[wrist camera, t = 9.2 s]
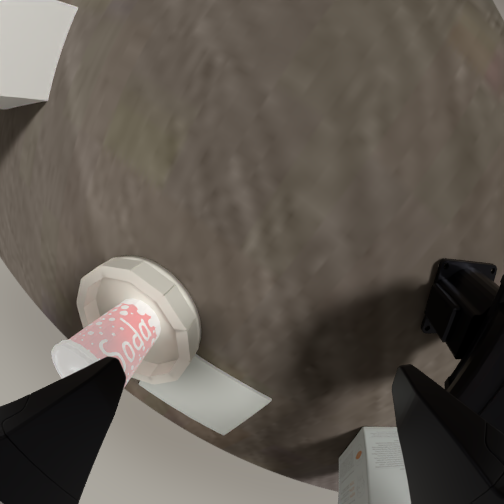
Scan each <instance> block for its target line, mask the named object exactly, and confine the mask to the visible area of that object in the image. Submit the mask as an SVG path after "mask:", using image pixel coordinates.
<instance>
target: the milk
mask: <svg viewBox="0 0 504 504" xmlns="http://www.w3.org/2000/svg"><path fill="white" fill-rule="evenodd" d="M77 10H78V7H76V6H73V5H70V4H67V3H64V2H60V1H57V0H0V109H10V108H14V107H19V106H23V105H28V104H33V103H38V102H44V101H48V98H49V93H50V89H51V85H52V81H53V77H54V74H55V70H56V66H57V63H58V60H59V57H60V54H61V50H62V48H63V45H64V42H65V39H66V36H67V34H68V31H69V28H70V26H71V23H72V21H73V19H74V16H75V14H76V12H77Z"/></svg>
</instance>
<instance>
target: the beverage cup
mask: <svg viewBox="0 0 504 504" xmlns="http://www.w3.org/2000/svg"><path fill="white" fill-rule="evenodd" d="M160 331H161V327H160V321H159V319H158V317H157V315H156V313H155V312H154V311H153V310H152V309H151V308H150V306H149V305H147V304H145V303H144V302H142V301H141V300H137V299H133V298H131V299H126V300H124V301H123V302H121V303H120V304H118V305H117V306H115V307H114V308H113V309H111V310H110V311H108V312H107V313H105V314H104V315H102V316H101V317H100V318H98V319H97V320H95V321H94V322H92V323H91V324H90V325H88V326H87V327H85V328H84V329H82V330H81V331H80V332H78V333H77V334H75V335H74V336H73V337H71V338H70V339H68V340H61V342H60V343H57V344H56V345H55V346H54V347H53V349H52V350H51V354H52V361H53V363H54V366H55V368H56V370H57V372H58V374H59V375H60V377H61V378H65V377H67V376H69V375H71V374H73V373H75V372H77V371H79V370H81V369H83V368H85V367H87V366H89V365H91V364H93V363H95V362H97V361H99V360H101V359H103V358H105V357H107V356H110V357H115V358H118V359H119V361H120V363H121V365H122V367H123V370H124V372H125V374H126V382H125V385H124V387H125V386H126V384H127V383H128V381H129V380H130V378H131V377H132V375H133V374H134V372H135V371H136V369H137V368H138V366H139V365H140V363H141V362H142V360H143V359H144V357H145V356H146V354H147V353H148V351H149V350H150V348H151V347H152V345H153V344H154V343H155V341H156V340H157V338H158V337H159V334H160ZM123 389H124V388H123Z"/></svg>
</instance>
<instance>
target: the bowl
mask: <svg viewBox="0 0 504 504" xmlns="http://www.w3.org/2000/svg"><path fill="white" fill-rule="evenodd" d="M131 298H133V299H137V300H141V301H142V302H144V303H145V304H147V305H149V306H150V308H151V309H152V310H153V311H154V312H155V313H156V315H157V317H158V319H159V321H160V327H161V331H160V334H159V337H158V338H157V340H156V341H155V343H154V344H153V345H152V347H151V348H150V350H149V351H148V353H147V354H146V356H145V357H144V359H143V360H142V362H141V363H140V365H139V366H138V368H137V369H136V371H135V372H134V374H133V375H132V378H135V379H137V380H140V381H144V382H147V383H150V384H154V385H155V384H161V383H167V382H172V381H177V380H178V379H179V377H180V376H181V375H182V373H183V372H184V371H185V369H186V368H187V366H188V365H189V364H190V362H191V361H192V359H193V357H194V355H195V354H196V352H197V350H198V349H199V344H200V341H201V335H202V327H201V320H200V316H199V312H198V310H197V307H196V305H195V303H194V301H193V299H192V297H191V295H190V294H189V292H188V291H187V289H186V288H185V287H184V286H183V284H182V283H181V282H180V281H179V280H178V279H177V278H176V277H175V276H174V275H173V274H172V273H171V272H169V271H168V270H167V269H166V268H164V267H163V266H161V265H160V264H158V263H156V262H154V261H152V260H150V259H147V258H144V257H141V256H135V255H124V256H119V257H114V258H112V259H110V260H108V261H107V262H105V263H103V264H101V265H100V266H98V267H97V268H95V269H94V270H92V271H91V272H90V273H88V274H87V275H85V276H84V277H83V278H82V279H81V282H80V287H79V291H78V296H77V302H76V304H77V308H78V311H79V315H80V319H81V322H82V326H83V329H84V328H85V327H87V326H88V325H90V324H91V323H92V322H94V321H95V320H97V319H98V318H100V317H101V316H102V315H104V314H105V313H107V312H108V311H110V310H111V309H113V308H114V307H115V306H117V305H118V304H120V303H121V302H123V301H124V300H126V299H131Z"/></svg>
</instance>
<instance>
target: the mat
mask: <svg viewBox="0 0 504 504" xmlns="http://www.w3.org/2000/svg"><path fill="white" fill-rule="evenodd" d="M139 385H140V386H142V387H143V388H145V389H146V390H147V391H149V392H150V393H152V394H153V395H155V396H156V397H158V398H159V399H161V400H162V401H164V402H166V403H167V404H169V405H170V406H172V407H173V408H175V409H177V410H178V411H180V412H182V413H183V414H185V415H187V416H188V417H190V418H192V419H194V420H195V421H197V422H199V423H201V424H203V425H204V426H206V427H208V428H210V429H212V430H214V431H216V432H218V433H220V434H222V435H225V434H227V433H228V432H230V431H231V430H233V429H234V428H236V427H237V426H238V425H240V424H241V423H243V422H244V421H245V420H247V419H248V418H249V417H251V416H252V415H254V414H255V413H256V412H258V411H259V410H260V409H262V408H263V407H264V406H265V405H267V404H268V403H269V402H271V401H272V399H271V398H269V397H268V396H266V395H264V394H262V393H260V392H258V391H256V390H255V389H253V388H251V387H249V386H248V385H246V384H244V383H242V382H241V381H239V380H237V379H235V378H234V377H232V376H230V375H229V374H227V373H225V372H224V371H222V370H220V369H219V368H217V367H215V366H214V365H212V364H211V363H209V362H208V361H206V360H204V359H203V358H201V357H200V356H198V355H197V354H195V355H194V357H193V359H192V361H191V362H190V364H189V365H188V366H187V368H186V369H185V371H184V372H183V373H182V375H181V376H180V377H179V379H178V380H177V381H172V382H167V383H161V384H155V385H154V384H150V383H147V382H144V381H140V382H139Z"/></svg>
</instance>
